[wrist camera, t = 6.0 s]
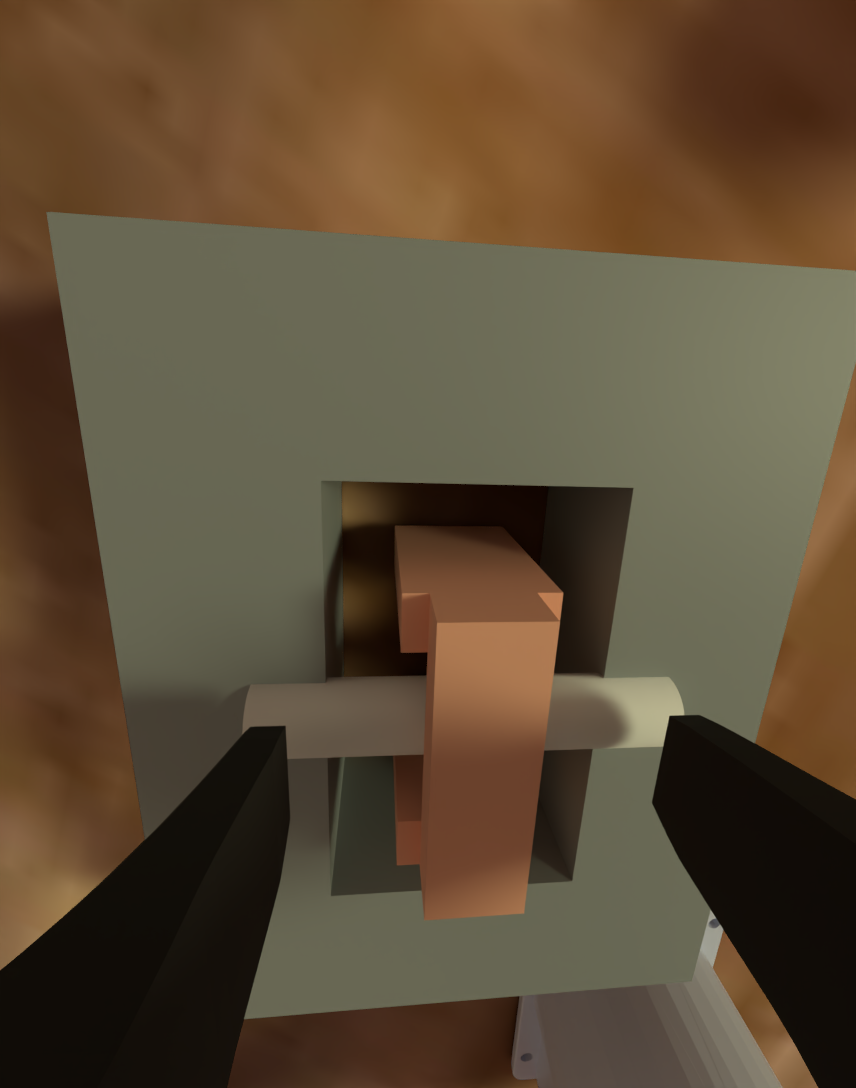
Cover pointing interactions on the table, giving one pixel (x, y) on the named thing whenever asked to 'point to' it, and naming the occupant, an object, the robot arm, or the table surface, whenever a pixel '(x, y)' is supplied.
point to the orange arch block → (474, 714)
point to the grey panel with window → (452, 458)
